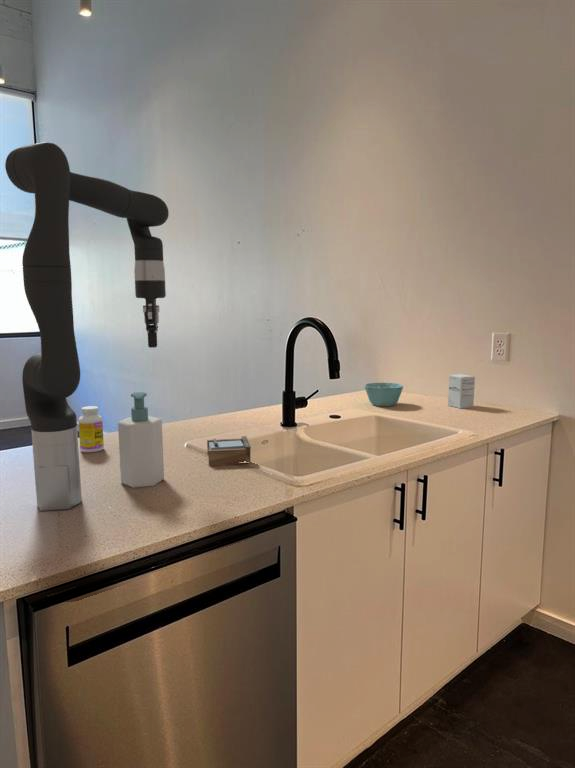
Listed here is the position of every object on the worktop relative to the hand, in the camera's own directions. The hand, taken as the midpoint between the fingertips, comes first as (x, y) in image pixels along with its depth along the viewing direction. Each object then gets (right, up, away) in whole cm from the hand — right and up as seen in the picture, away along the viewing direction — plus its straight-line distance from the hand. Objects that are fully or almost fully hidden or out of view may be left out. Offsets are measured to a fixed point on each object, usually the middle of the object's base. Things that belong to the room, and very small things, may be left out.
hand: (152, 347), depth 149 cm
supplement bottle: (-23, -29, +21) cm, 43 cm away
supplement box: (+105, -19, +83) cm, 135 cm away
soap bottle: (-1, -34, -7) cm, 34 cm away
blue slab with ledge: (+18, -31, +12) cm, 37 cm away
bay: (+18, -30, +12) cm, 37 cm away
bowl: (+74, -18, +88) cm, 116 cm away
